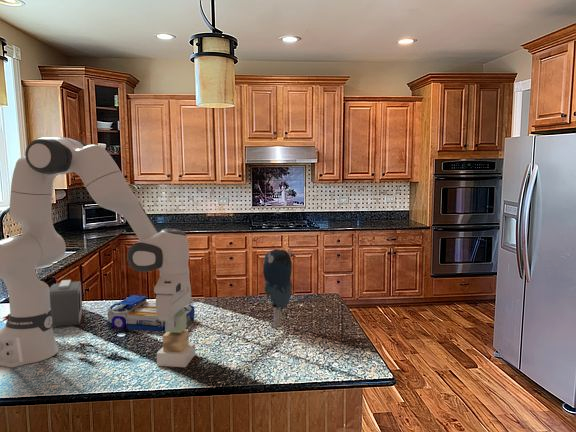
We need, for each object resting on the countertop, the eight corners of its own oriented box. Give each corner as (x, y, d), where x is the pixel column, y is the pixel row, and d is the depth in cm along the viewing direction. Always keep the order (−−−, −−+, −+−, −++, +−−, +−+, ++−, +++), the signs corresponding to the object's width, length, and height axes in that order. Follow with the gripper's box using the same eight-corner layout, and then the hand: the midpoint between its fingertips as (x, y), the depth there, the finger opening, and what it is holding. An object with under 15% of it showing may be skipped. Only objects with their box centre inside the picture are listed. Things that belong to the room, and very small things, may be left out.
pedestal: (157, 365, 131) (156, 353, 131) (168, 353, 140) (168, 341, 140) (185, 367, 130) (185, 354, 130) (195, 354, 139) (194, 342, 139)
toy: (279, 319, 173) (279, 245, 170) (300, 325, 167) (300, 249, 164) (256, 328, 163) (256, 250, 160) (277, 335, 156) (277, 254, 153)
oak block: (163, 351, 132) (162, 335, 132) (170, 343, 138) (170, 328, 137) (182, 352, 131) (181, 336, 131) (188, 344, 137) (188, 329, 137)
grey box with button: (79, 326, 163) (77, 286, 162) (45, 330, 159) (43, 289, 158) (82, 313, 178) (80, 276, 177) (51, 316, 174) (49, 279, 173)
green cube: (165, 331, 132) (164, 316, 131) (171, 326, 137) (171, 310, 136) (181, 332, 131) (180, 316, 131) (186, 326, 136) (186, 311, 136)
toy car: (178, 335, 157) (178, 308, 156) (105, 329, 162) (104, 303, 161) (196, 320, 172) (195, 296, 171) (128, 315, 178) (127, 291, 176)
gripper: (177, 272, 143) (177, 313, 145) (151, 289, 123) (152, 336, 124) (195, 273, 142) (196, 313, 144) (172, 290, 122) (173, 337, 124)
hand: (175, 324), depth 134 cm, fingers closed on green cube, 5 cm apart
